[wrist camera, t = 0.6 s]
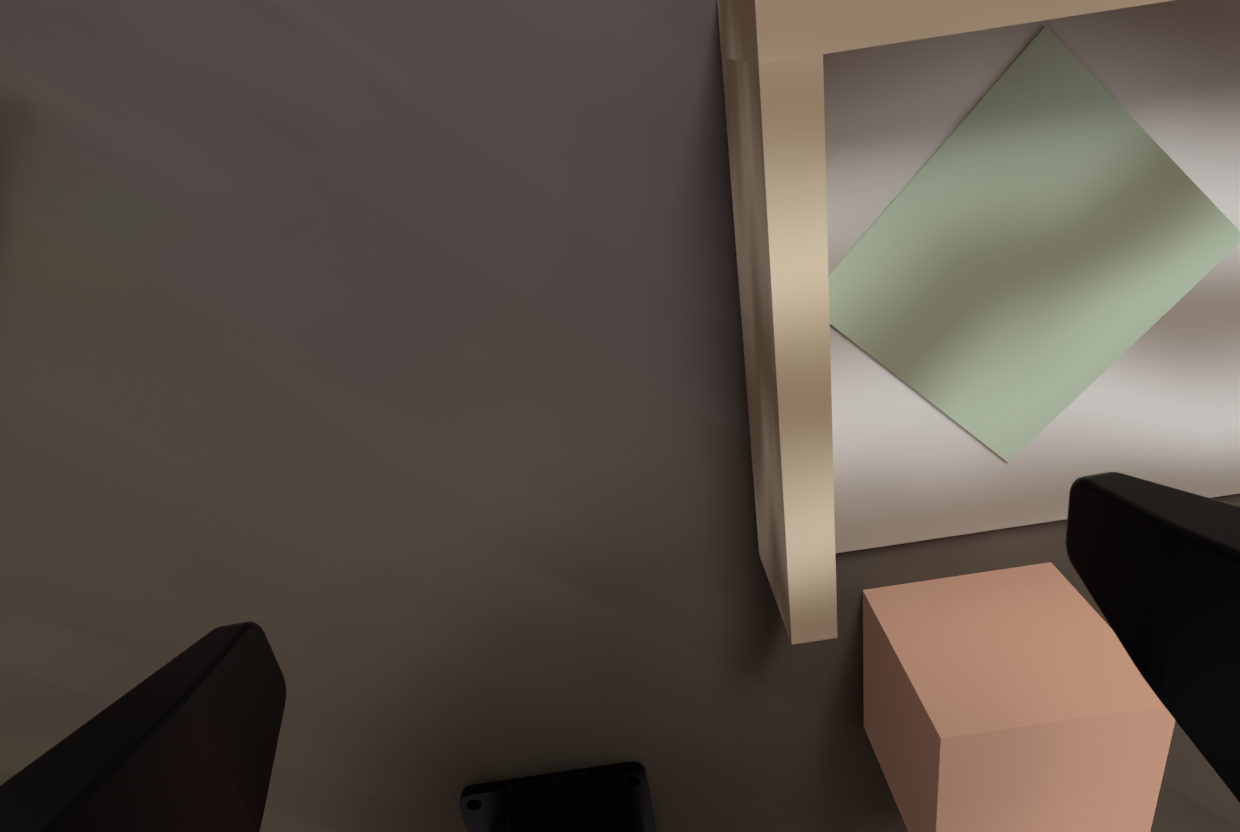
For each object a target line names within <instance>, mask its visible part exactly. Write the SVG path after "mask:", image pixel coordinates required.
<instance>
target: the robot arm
mask: <svg viewBox="0 0 1240 832" xmlns="http://www.w3.org/2000/svg"><path fill="white" fill-rule="evenodd" d="M1066 550H1067V554H1068V557H1069V559H1070V562H1071V564H1072V565H1073V567H1074V569H1075V570H1076V572H1077V574H1078V575H1079V577H1080V578H1081V580H1082V582H1083V583H1084V585H1085V586H1086V588H1087V590H1088V591H1089V593H1090V594H1091V596H1092V598H1093V599H1094V601H1095V602H1096V604H1097V606H1098V607H1099V609H1100V610H1101V612H1102V614H1103V615H1104V617H1105V618H1106V620H1107V622H1108V623H1109V625H1110V626H1111V628H1112V630H1113V631H1114V633H1115V634H1116V636H1117V638H1118V639H1119V641H1120V642H1121V644H1122V646H1123V647H1124V649H1125V650H1126V652H1127V654H1128V655H1129V657H1130V658H1131V660H1132V662H1133V663H1134V664H1135V666H1136V667H1137V669H1138V670H1139V672H1140V673H1141V675H1142V676H1143V678H1144V679H1145V681H1146V682H1147V684H1148V685H1149V686H1150V688H1151V689H1152V690H1153V692H1154V693H1155V694H1156V696H1157V697H1158V698H1159V700H1160V701H1161V702H1162V704H1163V705H1164V706H1165V707H1166V709H1167V710H1168V711H1169V712H1170V714H1171V715H1172V716H1173V718H1174V719H1175V720H1176V721H1177V723H1178V724H1179V725H1180V727H1181V728H1182V729H1183V730H1184V732H1185V733H1186V734H1187V736H1188V737H1189V738H1190V739H1191V741H1192V742H1193V743H1194V744H1195V746H1196V747H1197V748H1198V750H1199V751H1200V752H1201V753H1202V755H1203V756H1204V757H1205V759H1206V760H1207V761H1208V762H1209V764H1210V765H1211V766H1212V768H1213V769H1214V770H1215V771H1216V773H1217V774H1218V775H1219V776H1220V778H1221V779H1222V780H1223V782H1224V783H1225V784H1226V785H1227V787H1228V788H1229V789H1230V791H1231V792H1232V793H1233V794H1234V796H1235V797H1236V798H1237V800H1238V801H1239V802H1240V506H1237V505H1233V504H1230V503H1226V502H1223V501H1219V500H1215V499H1212V498H1208V497H1205V496H1201V495H1198V494H1194V493H1190V492H1187V491H1183V490H1180V489H1176V488H1173V487H1169V486H1165V485H1162V484H1158V483H1155V482H1151V481H1148V480H1144V479H1140V478H1137V477H1133V476H1130V475H1126V474H1122V473H1119V472H1105V473H1100V474H1094V475H1089V476H1083V477H1079V478H1077V479H1076V480H1075V481H1074V482H1073V483H1072V485H1071V487H1070V492H1069V503H1068V515H1067V528H1066ZM285 701H286V684H285V679H284V676H283V674H282V671H281V669H280V667H279V665H278V662H277V660H276V658H275V656H274V653H273V651H272V649H271V647H270V644H269V642H268V640H267V638H266V635H265V633H264V631H263V630H262V628H261V627H260V626H259V625H258V624H256V623H254V622H244V623H238V624H232V625H226V626H221V627H218V628H215V629H214V630H212V631H211V632H209V633H208V634H207V635H205V636H204V637H203V638H201V639H200V640H199V641H197V642H196V643H194V644H193V645H192V646H190V647H189V648H188V649H186V650H185V651H184V652H182V653H181V654H179V655H178V656H177V657H175V658H174V659H173V660H171V661H170V662H169V663H167V664H166V665H164V666H163V667H162V668H160V669H159V670H158V671H156V672H155V673H154V674H152V675H151V676H149V677H148V678H147V679H145V680H144V681H143V682H141V683H140V684H139V685H137V686H136V687H134V688H133V689H132V690H130V691H129V692H128V693H126V694H125V695H124V696H122V697H121V698H119V699H118V700H117V701H115V702H114V703H113V704H111V705H110V706H109V707H107V708H106V709H104V710H103V711H102V712H100V713H99V714H98V715H96V716H95V717H93V718H92V719H91V720H89V721H88V722H87V723H85V724H84V725H83V726H81V727H80V728H78V729H77V730H76V731H74V732H73V733H72V734H70V735H69V736H68V737H66V738H65V739H63V740H62V741H61V742H59V743H58V744H57V745H55V746H54V747H53V748H51V749H50V750H48V751H47V752H46V753H44V754H43V755H42V756H40V757H39V758H38V759H36V760H35V761H33V762H32V763H31V764H29V765H28V766H27V767H25V768H24V769H23V770H21V771H20V772H18V773H17V774H16V775H14V776H13V777H12V778H10V779H9V780H8V781H6V782H5V783H3V784H2V785H1V786H0V832H259V830H260V826H261V822H262V817H263V813H264V808H265V803H266V798H267V793H268V788H269V783H270V778H271V773H272V768H273V763H274V757H275V752H276V747H277V742H278V737H279V732H280V727H281V722H282V717H283V712H284V707H285ZM631 776H634V777H631ZM460 809H461V812H462V815H463V818H464V821H465V824H466V827H467V830H468V832H656V826H655V821H654V815H653V809H652V804H651V798H650V792H649V787H648V781H647V775H646V770H645V768H644V766H643V765H642V764H640V763H637V762H625V763H619V764H612V765H605V766H598V767H591V768H585V769H578V770H571V771H564V772H557V773H550V774H544V775H537V776H530V777H523V778H516V779H510V780H503V781H496V782H489V783H482V784H475V785H471V786H467V787H466V788H464V789H463V791H462V792H461V798H460Z"/></svg>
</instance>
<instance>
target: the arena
mask: <svg viewBox="0 0 1240 832" xmlns="http://www.w3.org/2000/svg"><path fill="white" fill-rule="evenodd" d="M717 5H718V18H719V31H720V44H721V58H722V71H723V84H724V97H725V111H726V124H727V137H728V150H729V163H730V177H731V190H732V203H733V216H734V230H735V243H736V256H737V269H738V282H739V296H740V309H741V322H742V335H743V349H744V362H745V375H746V388H747V402H748V415H749V428H750V441H751V454H752V468H753V481H754V494H755V507H756V521H757V534H758V547H759V556H760V558H761V561H762V564H763V567H764V569H765V572H766V575H767V578H768V580H769V583H770V586H771V589H772V591H773V594H774V597H775V600H776V602H777V605H778V608H779V611H780V613H781V616H782V619H783V622H784V624H785V627H786V630H787V633H788V635H789V638H790V641H791V644H799V643H806V642H812V641H819V640H826V639H833V638H837V599H836V559H835V553H842V552H848V551H855V550H862V549H869V548H875V547H882V546H889V545H895V544H902V543H909V542H916V541H922V540H929V539H936V538H943V537H949V536H956V535H963V534H970V533H976V532H983V531H990V530H996V529H1003V528H1010V527H1017V526H1023V525H1030V524H1037V523H1044V522H1050V521H1057V520H1064V519H1067V515H1068V503H1069V492H1070V487H1071V485H1072V483H1073V482H1074V481H1075V480H1076V479H1077V478H1079V477H1083V476H1089V475H1094V474H1100V473H1105V472H1119V473H1122V474H1126V475H1130V476H1133V477H1137V478H1140V479H1144V480H1148V481H1151V482H1155V483H1158V484H1162V485H1165V486H1169V487H1173V488H1176V489H1180V490H1183V491H1187V492H1190V493H1194V494H1198V495H1201V496H1205V497H1208V498H1212V497H1219V496H1226V495H1232V494H1239V493H1240V0H717Z"/></svg>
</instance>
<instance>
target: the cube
mask: <svg viewBox="0 0 1240 832" xmlns="http://www.w3.org/2000/svg"><path fill="white" fill-rule="evenodd" d="M863 705H864V729H865V731H866V734H867V736H868V738H869V741H870V743H871V745H872V748H873V750H874V752H875V755H876V757H877V759H878V762H879V764H880V767H881V769H882V771H883V774H884V776H885V778H886V781H887V783H888V785H889V788H890V790H891V792H892V795H893V797H894V800H895V802H896V804H897V807H898V809H899V811H900V814H901V816H902V818H903V821H904V823H905V825H906V828H907V830H908V832H1150V830H1151V826H1152V821H1153V817H1154V813H1155V808H1156V804H1157V799H1158V795H1159V790H1160V786H1161V782H1162V777H1163V773H1164V768H1165V764H1166V760H1167V755H1168V751H1169V746H1170V742H1171V738H1172V733H1173V729H1174V724H1175V719H1174V718H1173V716H1172V715H1171V714H1170V712H1169V711H1168V710H1167V709H1166V707H1165V706H1164V705H1163V704H1162V702H1161V701H1160V700H1159V698H1158V697H1157V696H1156V694H1155V693H1154V692H1153V690H1152V689H1151V688H1150V686H1149V685H1148V684H1147V682H1146V681H1145V679H1144V678H1143V676H1142V675H1141V673H1140V672H1139V670H1138V669H1137V667H1136V666H1135V664H1134V663H1133V662H1132V660H1131V658H1130V657H1129V655H1128V654H1127V652H1126V650H1125V649H1124V647H1123V646H1122V644H1121V642H1120V641H1119V639H1118V638H1117V636H1116V634H1115V633H1114V631H1113V630H1112V629H1111V628H1110V627H1109V626H1108V625H1107V623H1106V622H1105V621H1104V620H1103V619H1102V618H1101V617H1100V616H1099V615H1098V614H1097V612H1096V611H1095V610H1094V609H1093V608H1092V607H1091V606H1090V605H1089V604H1088V602H1087V601H1086V600H1085V599H1084V598H1083V597H1082V596H1081V595H1080V594H1079V593H1078V591H1077V590H1076V589H1075V588H1074V587H1073V586H1072V585H1071V584H1070V583H1069V582H1068V580H1067V579H1066V578H1065V577H1064V576H1063V575H1062V574H1061V573H1060V572H1059V571H1058V569H1057V568H1056V567H1055V566H1054V565H1053V564H1052V563H1051V562H1049V563H1042V564H1036V565H1029V566H1022V567H1015V568H1009V569H1002V570H995V571H988V572H982V573H975V574H968V575H961V576H955V577H948V578H941V579H934V580H928V581H921V582H914V583H907V584H901V585H894V586H887V587H880V588H874V589H867V590H863Z"/></svg>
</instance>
